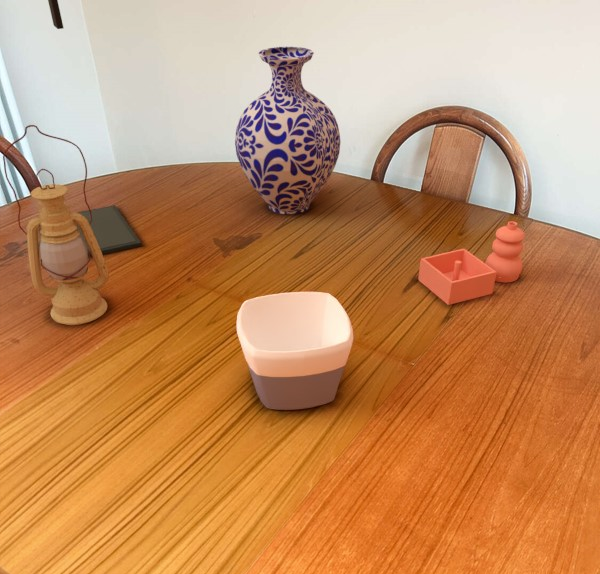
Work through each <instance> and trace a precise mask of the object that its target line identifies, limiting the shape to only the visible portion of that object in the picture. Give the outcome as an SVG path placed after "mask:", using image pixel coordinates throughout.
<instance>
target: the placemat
mask: <svg viewBox="0 0 600 574" xmlns="http://www.w3.org/2000/svg"><path fill="white" fill-rule="evenodd" d="M90 210H91V213H92V222H91V224H90V226H91V229H92V231H93V233H94V236H95V238H96V240H97V243H98V245H99V247H100V249H101V252H102V254H103V255H106V254H111V253H116V252H121V251H125V250H129V249H134V248H140V247H142V245H143V244H142V241H141V240H140V239H139V237H138V236H137V234H136V233H135V232H134V230H133V229H132V227H131V226H130V225H129V223H128V222H127V220H126V219H125V217H124V216H123V215H122V213H121V212H120V210H119V209H118V207H117V206H116V205H115V204H114V205H110V206H109V205H107V206H103V207H98V208H93V209H90ZM76 213H79V214H81V215H83V216H84V217H85V218H86V219H87V220H88V222H89V223H90V221H91V215H90V211H89V209H87V210H83V211H77V212H76ZM74 222H75V221H74ZM77 229H78V230H79V231H80V233H79V234H80V235H81V236H82V238H83V240H84V243H85V245H86V248H87V249H88V251H89V252H90V250H89V248H88V245H87V243H86V241H85V239H84V236H83V234H82V232H81V230H80V228H79V225H78V227H77ZM90 256H91V258H93V257H92V254H91V252H90ZM88 259H89V253H88Z"/></svg>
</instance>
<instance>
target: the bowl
mask: <svg viewBox="0 0 600 574" xmlns="http://www.w3.org/2000/svg"><path fill="white" fill-rule="evenodd" d="M236 333H237V334H236V335H237V337H238V340H239V344H240V346H241V350H242V353H243V356H244V359H245V361H246V363H247V367H248V370H249V373H250V376H251V379H252V382H253V385H254V388H255V391H256V394H257V396H258V399H259V400H260V402H261V404H263V406H264V407H265V408H267V409H270V410H278V411H279V410H280V411H283V410H284V411H287V410H289V411H291V410H294V411H295V410H304V409H309V408H315V407H319V406H322V405H327V404H329V403H331V402H333V401H335V398H336V396H337V395H336V394H337V391H338V388H339V385H340V384H341V383H340V382H341V379H342V377H343V373H344V370H345V367H346V365H347V362H348V359H349V355H350V353H351V351H352V350H351V349H352V347H353V342H354V329H353V325H352V322H351V319H350V317H349V315H348V313H347V312H346V310H345V308H344V307H343V305H342V304H341V303H340V301H338V299H337V298H336V297H334V296H333V295H332V294H330V293H328V292H321V291H295V292H293V291H291V292H281V293H280V292H279V293H274V294H266V295H262V296H256V297H253V298H249V299H247V300H244V302H242V304H241V306H240V307H239V310H238V311H237V316H236Z"/></svg>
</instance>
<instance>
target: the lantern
mask: <svg viewBox="0 0 600 574" xmlns="http://www.w3.org/2000/svg"><path fill="white" fill-rule="evenodd" d="M31 127H34V128H36V130H37V132H38V133H39V134H40V135H42V136H45V137H49V138H52V139H55V140H56V139H57V140H59V141H63V142H67V143H69V144H71V145H72V146H75V148H76V149H78V152H79V153H80V155H81V157H82V160H83V163H84V168H85V176H84V182H83V195H84V202H85V204H86V206H87V210H89V211H90V215H91V221H90V223H89V222H88V220H87V219H86V218H85V217H84V216H83V215H81V214H79V213H77V212H74V211H73V212H71V208H70V206H69V205H67V204H65V203H64V202H65V200H66V199H65V195H67V194H68V191H69V190H68V187H67V186H65V185H63V184H55V177H54V174H53V173H52V172H51V171H50V170H48V169H46V168H41V169H40V170H38V172H37V173H36V175H35V178H36V181H37V183H38V185H39V186H38V187H35V188H34V189H33V190H31V192H30V196H31V197H32V198H33V199H35V200H37V203H38V204H39V205H40V206H41V207H40V208H39V209H38V211H37V213H38V216H34V217H33V218H31V219H29V221H28V222H27V224H26V227H25V228H26V229H25V230H26V231H25V230H24V229H23V228H22V225H21V220H20V219H21V218H20V216H21V209H22V208H21V205H20V202H19V200H18V197H17V193H16V190H15V189H14V187H13V186H12V184H11V182H10V179H9V177H8V172H7V164H6V158H5V157H6V154H7V152H8V151H9V149H10V148H11V147H13V146H14V145H15V144H17V143H18V142H19V141H22V140H23V139H24V138H25V137H26V135H27V132H28V131H27V130H28V129H29V128H31ZM2 159H3V160H2V161H3V168H4V170H3V171H4V174H5V178H6V181H7V184H9V186H10V188H11V190H12V192H13V195H14V198H15V200H16V203H17V206H18V214H17V222H18V227H19V229H20V230H21V231H22V232H23V233H24V234H25V235H26V242H27V243H26V244H27V255H28V265H29V272H30V279H31V283H32V286H33V287H34V289H35V290H36V291H37V292H38V293H40V294H42V295H44V296H47V297H51V298H50V300H51V304H52V308H51V309H50V312H49V313H50V317H51V319H52V320H53V321H54V322H55V323H57V324H61V325H66V326H80V325H84V324H88V323H90V322H93V321H95V320H97V319H99V318H101V317H102V316H103V315H104V314H105V313H106V312H107V310H108V303H107V301H106V299H104V298H103V297H102V296H101V292H100V290H99V289H101V288H103V287H104V286H105V285H106V284H107V283H108V281H109V278H110V273H109V268H108V265H107V263H106V259H105V257H104V254H102V252H101V249H100V247H99V245H98V243H97V240H96V238H95V236H94V233H93V231H92V229H91V226H90V224H91V222H92V213H91V210H92V209H91V207H90V205H89V204H88V201H87V195H86V184H87V179H88V166H87V163H86V158H85V157H84V154H83V152H82V150H81V148H80V147H79V146H78V145H77V144H75V143H74V142H72V141H70V140H68V139H65V138H61V137H58V136H54V135H49V134H47V133H44V132H42V131H41V130H40V129H39V127H38V125H35V124H28V125H27V126H25V127H24V134H23V135H22V136H21V137H19V138H18V139H16V140H15V141H12V143H11V144H10V145H8V146H7V148H6V149H5V151H4V152H3V156H2ZM41 171H46V172H48V173H49V174H50V175H51V178H52V184H45V185H41V183H40V181H39V178H38V176H39V174H40V173H41ZM74 221H75V222H74ZM78 225H79V228H80V230H81V232H82V234H83V236H84V239H85V241H86V243H87V245H88V248H89V250H90V252H91V254H92V257H91V256H90V252H89V251H88V249H87V248H86V245H85V243H84V240H83V238H82V236H81V235H80V234H79V233H80V231H79V230H78V229H77V227H78ZM39 234H40V235H39ZM88 253H89V258H88ZM91 258H92V260H93V262H94V265H95V267H96V270H97V273H98V277H97V279H95V280H91V281H89V280H86V279H85V277H86V276H87V274H88V271H89V267H88V265H89V263H90V262H91ZM42 269H44V270H45V271H46V272H47V273H48V275H49V277H51V279H52V280H54V281H55V282H58V283H59V284H58V285H57V286H47V285H46V284H45V283H44V281H43V272H42Z"/></svg>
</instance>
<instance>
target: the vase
mask: <svg viewBox="0 0 600 574" xmlns="http://www.w3.org/2000/svg"><path fill="white" fill-rule="evenodd" d="M258 55H259V58H260V59H261V61H262V62H264V63H266V64H268V65H269V67H270V70H271V76H272V77H271V84H270V87H269V89H268V90H267V91H265V92H263V93H262V94H260V95H259V96H258V97H257V98H256V99H254V100H253V101H252V102H250V104H248V106H247V107H246V108H245V109H244V110H243V112H242V114H241V115H240V117H239V119H238V122H237V124H236V129H235V140H234V144H235V145H234V146H235V153H236V154H235V155H236V158H237V161H238V163H239V166H240V168H241V170H242V171H243V173H244V175H245V177H246V179H247V180H248V182H249V183H250V185H251V186H252V187H253V189H254V190H255V191H256V193H257V194H258V195H259V196H260V198H262V199H263V201H264V202H265V203H266V204H267V205H268V208H269V209H270V211H272V212H274V213H277V214H282V215H297V214H300V213H303V212H306V211H307V210H308V209H309V208H310V204H311V203H312V202H313V201H314V199H315V198H316V197H317V196H318V195H319V193H320V192H321V190H322V189H324V187H325V186H326V183H327V182H328V180H329V179H330V177H331V176H332V173H333V172H334V169H335V168H336V165H337V162H338V159H339V156H340V152H341V151H340V150H341V132H340V127H339V124H338V121H337V119H336V116H335V115H334V113H333V112H332V110H331V108H330V107H328V105H326V104H325V102H323V100H321V99H320V98H319V97H317V96H316V95H314V94H313V93H311V92H310V91H307V90H306V89H305V88H304V86H303V81H302V70H303V67H304V65H305V64H306V63H308V62H310V61H311V60H312V59H313V56H314V51H313V50H312V49H309V48H305V47H300V46H275V47H268V48H265V49H262V50H260V51H259V52H258Z"/></svg>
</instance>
